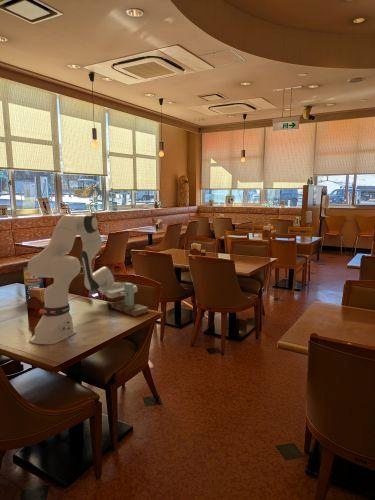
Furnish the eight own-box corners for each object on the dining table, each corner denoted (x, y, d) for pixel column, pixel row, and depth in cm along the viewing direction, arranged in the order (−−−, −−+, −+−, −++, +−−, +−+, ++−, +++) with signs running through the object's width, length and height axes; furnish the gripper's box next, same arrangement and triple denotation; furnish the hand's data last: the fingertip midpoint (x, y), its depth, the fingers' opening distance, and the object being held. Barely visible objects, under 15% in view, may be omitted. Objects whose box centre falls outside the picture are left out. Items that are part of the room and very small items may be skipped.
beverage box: (44, 301, 233) (42, 268, 230) (25, 303, 229) (23, 269, 226) (44, 298, 239) (42, 266, 236) (26, 300, 235) (23, 267, 232)
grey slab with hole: (148, 312, 211) (148, 307, 211) (134, 316, 204) (134, 311, 203) (124, 304, 226) (124, 299, 225) (111, 308, 219) (111, 303, 218)
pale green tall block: (134, 306, 214) (133, 283, 212) (130, 308, 212) (129, 284, 210) (128, 305, 217) (128, 282, 215) (124, 306, 215) (124, 283, 213)
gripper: (101, 288, 214) (115, 292, 205) (128, 281, 229) (142, 285, 220) (101, 298, 215) (115, 302, 206) (129, 291, 230) (143, 295, 221)
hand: (130, 293), depth 213 cm, fingers closed on pale green tall block, 3 cm apart
